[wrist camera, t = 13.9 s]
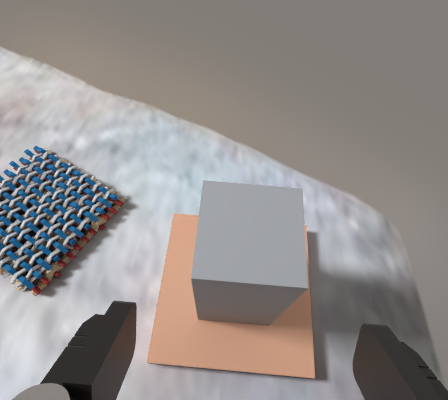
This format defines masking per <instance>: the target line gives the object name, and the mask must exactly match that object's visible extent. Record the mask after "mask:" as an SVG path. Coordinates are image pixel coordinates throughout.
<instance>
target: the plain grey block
mask: <svg viewBox="0 0 448 400" xmlns="http://www.w3.org/2000/svg"><path fill="white" fill-rule="evenodd" d="M191 282H192V288H193V294H194V300H195V306H196V312H197V317H198V320H208V321H220V322H232V323H244V324H256V325H268V326H269V325H270V324H272V323H273V322H274V321H275V320H276V319H277V318H278V317H279V316H280V315H281V314H282V313H283V312H284V311H285V310H286V309H287V308H288V307H289V306H290V305H291V304H292V303H294V302H295V301H296V300H297V299H298V298H299V297H300V296H301V295H302V294H303V293H304V292H305V291H306V290H307V289H308V273H307V257H306V241H305V225H304V209H303V192H302V189H298V188H286V187H274V186H262V185H250V184H238V183H226V182H214V181H203V187H202V195H201V203H200V211H199V219H198V227H197V235H196V243H195V251H194V258H193V266H192V274H191Z"/></svg>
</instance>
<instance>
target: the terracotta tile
mask: <svg viewBox="0 0 448 400" xmlns="http://www.w3.org/2000/svg"><path fill="white" fill-rule="evenodd" d="M198 219H199V216H196V215H185V214H174V216H173V221H172V227H171V232H170V238H169V243H168V249H167V254H166V259H165V265H164V270H163V276H162V281H161V287H160V292H159V298H158V303H157V309H156V314H155V320H154V325H153V331H152V336H151V342H150V347H149V353H148V358H147V363H152V364H163V365H173V366H184V367H194V368H205V369H216V370H226V371H237V372H247V373H258V374H269V375H279V376H290V377H300V378H315V368H314V350H313V332H312V313H311V295H310V277H309V259H308V241H307V226H305V241H306V257H307V273H308V289H307V290H306V291H305V292H304V293H303V294H302V295H301V296H300V297H299V298H298V299H297V300H296V301H295V302H294V303H292V304H291V305H290V306H289V307H288V308H287V309H286V310H285V311H284V312H283V313H282V314H281V315H280V316H279V317H278V318H277V319H276V320H275V321H274V322H273V323H272V324H270V325H269V326H268V325H256V324H244V323H232V322H220V321H208V320H198V317H197V312H196V306H195V300H194V294H193V288H192V282H191V274H192V266H193V258H194V251H195V243H196V235H197V227H198Z"/></svg>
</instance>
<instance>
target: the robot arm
mask: <svg viewBox="0 0 448 400" xmlns="http://www.w3.org/2000/svg"><path fill="white" fill-rule="evenodd" d="M135 343H136V303H135V302H123V301H113V302H112V304H111V305H110V307H109V309H108V310H107V312H106V313H105V315H98V314H95V315H94V316H92V317H91V318H90V319H88V320H87V321H85V322H84V323H83V324H82V325H81V327H80V328H79V329H78V331H77V332H76V334H75V336H74V337H73V338H72V339H71V341H70V342H69V344H68V347H66V348H65V349H64V351H63V352H62V354H61V355H60V356H59V358H58V359H57V361H56V362H55V364H54V365H53V366H52V368H51V369H50V371H49V372H48V373H47V375H46V376H45V378H44V379H43V381H42V382H41V383H40V384H39V385H36V386H33V387H30V388H28V389H26V390H24V391H23V392H21V393H20V394H18V395H17V396H16V397H15V398H13V399H12V400H116V398H117V396H118V393H119V391H120V388H121V386H122V383H123V381H124V378H125V375H126V373H127V370H128V368H129V365H130V363H131V360H132V358H133V354H134V350H135ZM353 372H354V377H355V380H356V382H357V384H358V386H359V388H360V390H361V392H362V394H363V397H364V399H365V400H448V391H447V390H446V388H445V387H444V386H443V385H442V383H441V382H440V381H439V380H437V377H436V376H435V374H434V373H433V372H432V371H431V369H429V368H428V366H427V364H426V363H425V362H424V361H423V359H422V358H421V357H420V356H419V354H418V353H416V352H415V351H414V350H413V349H411V348H410V347H409V346H407V345H406V344H405V343H404V342H399V340H398V339H397V338H396V336H395V335H394V334H393V332H392V331H391V330H390V328H389V327H388V326H385V325H374V324H363V325H362V326H361V329H360V333H359V337H358V341H357V346H356V350H355V354H354V358H353Z"/></svg>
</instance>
